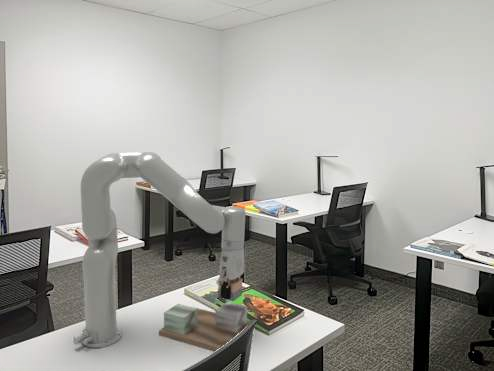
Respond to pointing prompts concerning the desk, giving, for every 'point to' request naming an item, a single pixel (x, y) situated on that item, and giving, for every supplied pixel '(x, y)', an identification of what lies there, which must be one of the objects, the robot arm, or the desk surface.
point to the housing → (233, 289)
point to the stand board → (204, 324)
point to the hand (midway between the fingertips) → (229, 294)
